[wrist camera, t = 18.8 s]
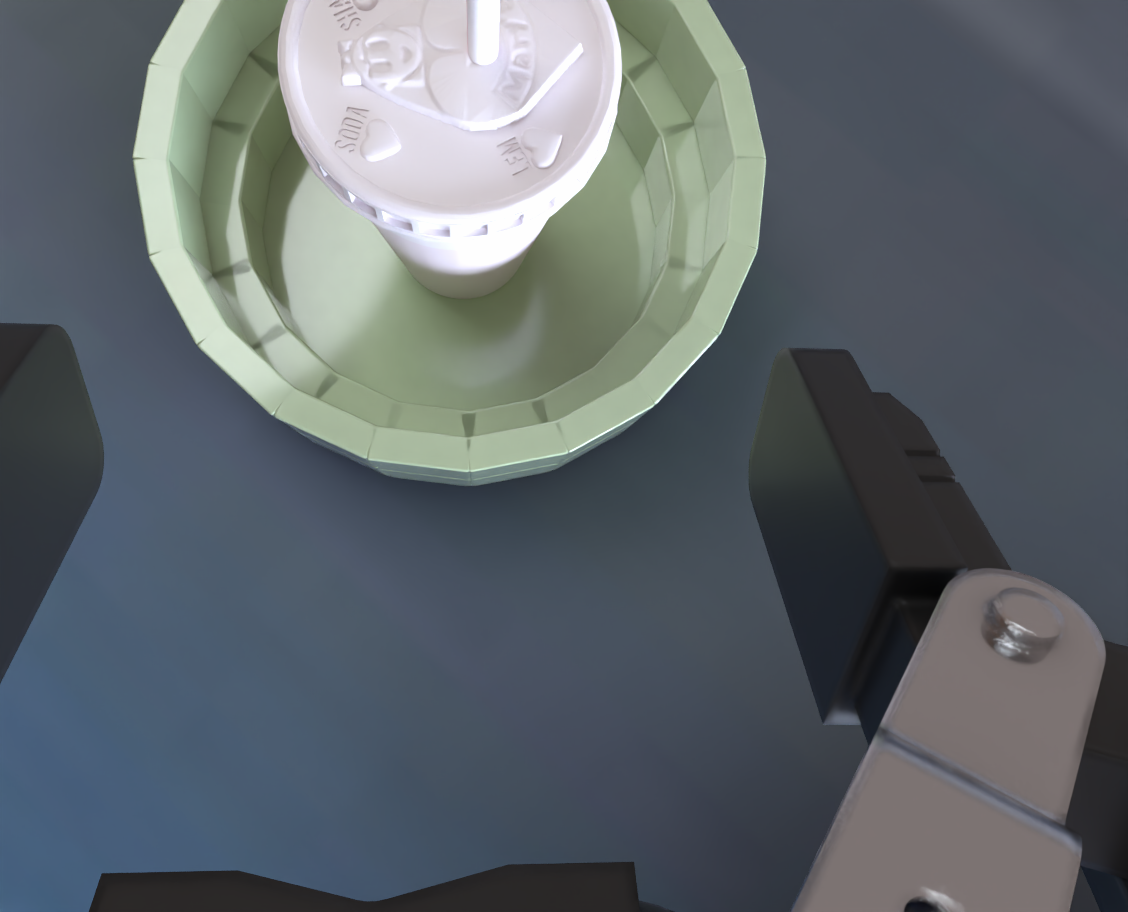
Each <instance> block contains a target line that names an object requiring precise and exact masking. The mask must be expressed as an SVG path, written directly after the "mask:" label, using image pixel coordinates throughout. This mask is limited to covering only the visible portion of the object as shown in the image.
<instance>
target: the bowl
mask: <svg viewBox="0 0 1128 912" xmlns="http://www.w3.org/2000/svg"><path fill="white" fill-rule="evenodd" d="M606 1H607V2H608V5H609V7H610V10H611V12H612V15H613V17H614V21H615V24H616V28H617V31H618V36H619V41H620V47H621V57H622V81H621V89H620V96H619V101H618V105H617V115H616V119H615V122H614V125H613V129H612V132H611V136H610V139H609V143H608V146H607V149H606V152H605V154H604V155H603V157H602V158H601V160H600V162H599V163H598V165H597V166H596V168H595V170H594V171H593V173H592V174H591V176H590V178H589V179H588V181H587V182H586V184H585V186H584V187H583V188H582V189H581V190H580V191H579V192H577V193H576V194H575V195H574V196H573V197H572V198H571V199H570V200H569V201H568V202H566V203H565V204H564V205H563V206H562V207H561V208H560V209H559V210H558V211H557V212H555V213H554V214H553V215H552V216H550V217H549V218H548V220H547V221H546V223H545V225H544V226H543V228H542V230H541V231H540V233H539V235H538V236H537V238H536V240H535V241H534V243H533V245H532V246H531V248H530V250H529V251H528V253H527V255H526V256H525V258H524V260H523V261H522V263H521V265H520V266H519V268H518V270H517V271H516V273H515V274H514V275H513V277H512V278H511V279H510V280H509V281H508V282H507V283H506V284H505V285H503V286H502V287H501V288H499V289H497V290H496V291H494V292H492V293H490V294H488V295H485V296H482V297H477V298H472V299H455V298H449V297H445V296H442V295H439V294H437V293H435V292H432V291H431V290H429V289H427V288H426V287H424V286H423V285H422V284H420V283H419V282H418V281H417V280H416V279H415V278H414V277H413V276H412V274H411V273H410V272H409V271H408V269H407V268H406V267H405V265H404V264H403V263H402V261H401V260H400V259H399V257H398V256H397V255H396V253H395V252H394V251H393V249H392V248H391V247H390V245H389V244H388V243H387V241H386V240H385V239H384V237H383V236H382V235H381V233H380V232H379V231H378V229H377V228H376V227H375V225H374V224H373V223H372V221H370V220H368V219H367V218H365V217H363V216H362V215H360V214H358V213H357V212H355V211H354V210H352V209H350V208H349V207H347V206H345V205H344V204H343V203H342V202H341V201H340V200H339V199H338V198H337V196H336V195H335V194H334V193H333V192H332V191H331V190H330V189H329V188H328V187H327V186H326V185H325V184H324V183H323V182H322V181H321V180H320V179H319V178H318V177H317V176H316V175H315V174H314V172H313V170H312V169H311V167H310V165H309V163H308V161H307V160H306V158H305V156H304V154H303V152H302V150H301V149H300V147H299V145H298V143H297V141H296V140H295V138H294V136H293V134H292V129H291V125H290V121H289V117H288V112H287V108H286V105H285V103H284V99H283V95H282V91H281V87H280V80H279V73H278V57H277V52H278V38H279V32H280V26H281V21H282V18H283V14H284V11H285V7H286V4H287V2H288V0H184V1H183V3H182V5H181V7H180V8H179V10H178V12H177V14H176V16H175V17H174V19H173V21H172V23H171V24H170V26H169V28H168V30H167V32H166V33H165V35H164V37H163V39H162V40H161V42H160V44H159V46H158V48H157V49H156V51H155V53H154V55H153V57H152V58H151V60H150V64H149V65H148V71H147V76H146V82H145V88H144V93H143V99H142V105H141V110H140V116H139V122H138V127H137V133H136V139H135V144H134V150H133V156H132V157H133V159H134V160H133V167H134V173H135V179H136V185H137V191H138V197H139V203H140V209H141V215H142V221H143V227H144V233H145V239H146V245H147V251H148V255H149V256H150V257H149V259H150V261H151V263H152V265H153V267H154V268H155V270H156V272H157V274H158V276H159V278H160V279H161V281H162V283H163V285H164V287H165V289H166V291H167V292H168V294H169V296H170V298H171V300H172V302H173V303H174V305H175V307H176V309H177V311H178V313H179V314H180V316H181V318H182V320H183V322H184V324H185V325H186V327H187V329H188V331H189V333H190V335H191V337H192V338H193V340H194V342H195V344H196V345H198V348H199V349H200V350H202V351H203V352H204V353H205V354H206V355H207V356H208V357H209V358H210V359H211V360H212V361H213V362H214V363H216V364H217V365H218V366H219V367H220V368H221V369H222V370H223V371H224V372H225V373H226V374H227V375H228V376H229V377H231V378H232V379H233V380H234V381H235V382H236V383H237V384H238V385H239V386H240V387H241V388H242V389H243V390H245V391H246V392H247V393H248V394H249V395H250V396H251V397H252V398H253V399H254V400H255V401H256V402H257V403H259V404H260V405H261V406H262V407H263V408H264V409H265V410H266V411H267V412H268V413H269V414H270V415H272V416H273V417H275V418H277V419H278V420H280V421H281V422H283V423H284V424H286V425H287V426H289V427H291V428H292V429H294V430H295V431H297V432H299V433H300V434H302V435H303V436H305V437H306V438H308V439H309V440H311V441H313V442H314V443H316V444H318V445H321V446H323V447H325V448H327V449H329V450H331V451H334V452H336V453H338V454H340V455H342V456H344V457H347V458H349V459H351V460H353V461H355V462H357V463H360V464H362V465H364V466H366V467H368V468H370V469H373V470H375V471H377V472H379V473H381V474H383V475H388V476H390V477H395V478H404V479H412V480H420V481H428V482H436V483H445V484H453V485H461V486H471V485H472V486H478V485H483V484H488V483H493V482H499V481H504V480H509V479H514V478H519V477H524V476H530V475H535V474H540V473H545V472H550V471H551V470H552V469H553V470H554V469H557V468H559V467H561V466H563V465H564V464H566V463H568V462H570V461H572V460H573V459H575V458H577V457H579V456H581V455H582V454H584V453H586V452H588V451H590V450H591V449H593V448H595V447H597V446H599V445H600V444H602V443H604V442H606V441H608V440H609V439H611V438H613V437H615V436H617V435H619V434H620V433H622V432H623V431H624V430H626V429H627V428H628V427H629V426H631V425H632V424H633V423H634V422H635V421H637V420H638V419H639V418H640V417H641V416H643V415H644V414H645V413H646V412H648V411H649V410H650V409H651V408H652V407H654V406H655V405H656V404H657V403H658V402H659V401H660V400H661V399H662V398H663V397H664V396H665V394H666V393H667V392H668V391H669V390H670V389H671V388H672V387H673V386H674V385H675V384H676V383H677V381H678V380H679V379H680V378H681V377H682V376H683V375H684V374H685V373H686V372H687V371H688V370H689V368H690V367H691V366H692V365H693V364H694V363H695V362H696V361H697V360H698V359H699V358H700V356H701V355H702V354H703V353H704V352H705V351H706V350H707V349H708V348H709V347H710V346H711V345H712V343H713V342H714V341H715V340H716V339H717V337H718V336H719V335H720V334H721V332H722V329H723V327H724V325H725V323H726V320H727V318H728V316H729V314H730V311H731V309H732V307H733V305H734V302H735V300H736V298H737V296H738V294H739V291H740V289H741V287H742V285H743V282H744V280H745V278H746V276H747V273H748V271H749V269H750V267H751V264H752V262H753V260H754V258H755V255H756V253H757V249H758V242H759V231H760V221H761V210H762V200H763V190H764V179H765V169H766V159H765V157H766V155H765V151H764V146H763V142H762V137H761V133H760V128H759V124H758V120H757V115H756V111H755V106H754V102H753V97H752V93H751V88H750V84H749V80H748V75H747V71H746V69H745V65H744V63H743V62H742V60H741V58H740V56H739V55H738V53H737V51H736V50H735V48H734V46H733V44H732V43H731V41H730V39H729V38H728V36H727V34H726V32H725V31H724V29H723V27H722V25H721V24H720V22H719V20H718V19H717V17H716V15H715V13H714V12H713V10H712V8H711V7H710V5H709V3H708V1H707V0H606Z"/></svg>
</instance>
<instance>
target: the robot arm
mask: <svg viewBox="0 0 1128 912" xmlns="http://www.w3.org/2000/svg"><path fill="white" fill-rule="evenodd" d="M103 466H104V450H103V442H102V437H101V434H100V430H99V427H98V424H97V421H96V418H95V414H94V411H93V408H92V405H91V402H90V398H89V395H88V392H87V389H86V386H85V382H84V379H83V376H82V373H81V370H80V366H79V363H78V360H77V357H76V354H75V350H74V347H73V344H72V342H71V339H70V338H69V336H68V334H67V333H66V331H65V330H64V329H63V328H62V327H60V326H58V325H51V324H17V323H0V683H1V681H2V679H3V677H4V675H5V673H6V671H7V669H8V667H9V665H10V663H11V661H12V659H13V657H14V655H15V653H16V651H17V649H18V647H19V645H20V643H21V642H22V640H23V638H24V636H25V634H26V632H27V630H28V628H29V626H30V624H31V622H32V620H33V618H34V616H35V614H36V612H37V610H38V608H39V606H40V604H41V602H42V600H43V598H44V596H45V594H46V592H47V590H48V588H49V586H50V584H51V582H52V580H53V578H54V576H55V575H56V573H57V571H58V569H59V567H60V565H61V563H62V561H63V559H64V557H65V555H66V553H67V551H68V549H69V547H70V545H71V543H72V541H73V539H74V537H75V535H76V533H77V531H78V529H79V527H80V525H81V523H82V521H83V519H84V517H85V515H86V513H87V511H88V509H89V507H90V506H91V504H92V502H93V500H94V498H95V496H96V494H97V491H98V489H99V486H100V483H101V479H102V475H103ZM749 490H750V497H751V501H752V505H753V508H754V511H755V514H756V517H757V520H758V523H759V526H760V529H761V533H762V536H763V539H764V542H765V545H766V548H767V551H768V554H769V557H770V561H771V564H772V567H773V570H774V573H775V576H776V579H777V582H778V585H779V589H780V592H781V595H782V598H783V601H784V604H785V607H786V610H787V613H788V617H789V620H790V623H791V626H792V629H793V632H794V635H795V638H796V641H797V645H798V648H799V651H800V654H801V657H802V660H803V663H804V666H805V669H806V672H807V676H808V679H809V682H810V685H811V688H812V691H813V694H814V697H815V700H816V704H817V707H818V710H819V713H820V716H821V719H822V722H823V725H861V726H862V729H863V731H864V734H865V737H866V740H867V742H868V745H869V746H868V748H867V750H866V752H865V754H864V756H863V758H862V760H861V762H860V765H859V767H858V769H857V771H856V773H855V775H854V777H853V779H852V781H851V783H850V786H849V788H848V790H847V792H846V794H845V796H844V798H843V800H842V802H841V804H840V807H839V809H838V811H837V813H836V815H835V817H834V819H833V821H832V823H831V826H830V828H829V830H828V832H827V834H826V836H825V838H824V840H823V842H822V844H821V847H820V849H819V851H818V853H817V855H816V857H815V859H814V861H813V863H812V865H811V868H810V870H809V872H808V874H807V876H806V878H805V880H804V882H803V884H802V886H801V889H800V891H799V893H798V895H797V897H796V899H795V901H794V903H793V905H792V907H791V909H790V912H1069V910H1070V906H1071V902H1072V897H1073V893H1074V888H1075V884H1076V880H1077V875H1078V871H1079V866H1081V868H1082V870H1083V873H1084V875H1085V877H1086V879H1087V882H1088V884H1089V886H1090V888H1091V891H1092V893H1093V895H1094V897H1095V900H1096V902H1097V904H1098V906H1099V909H1100V911H1101V912H1128V647H1127V646H1123V645H1119V644H1115V643H1112V642H1108V641H1105V640H1103V639H1102V636H1101V634H1100V632H1099V630H1098V628H1097V627H1096V625H1095V623H1094V622H1093V621H1092V619H1091V618H1090V617H1089V616H1088V615H1087V613H1086V612H1085V611H1084V610H1083V609H1082V608H1081V607H1080V606H1079V605H1078V604H1076V603H1075V602H1074V601H1073V600H1072V599H1070V598H1069V597H1068V596H1066V595H1065V594H1064V593H1062V592H1060V591H1059V590H1057V589H1056V588H1054V587H1052V586H1051V585H1049V584H1046V583H1044V582H1042V581H1040V580H1038V579H1036V578H1033V577H1031V576H1028V575H1025V574H1022V573H1018V572H1014V571H1012V570H1011V568H1010V567H1009V565H1008V563H1007V562H1006V560H1005V558H1004V557H1003V555H1002V553H1001V552H1000V550H999V548H998V547H997V545H996V543H995V542H994V540H993V538H992V537H991V535H990V533H989V532H988V530H987V528H986V527H985V525H984V523H983V521H982V520H981V518H980V516H979V515H978V513H977V511H976V510H975V508H974V506H973V505H972V503H971V501H970V500H969V498H968V496H967V495H966V493H965V491H964V490H963V488H962V486H961V485H960V483H956V482H955V475H954V473H953V471H952V470H951V468H950V466H949V465H948V463H947V461H946V460H945V458H944V457H940V449H939V448H938V446H937V444H936V443H935V441H934V439H933V438H932V436H931V434H930V433H929V431H928V429H927V428H926V426H925V424H924V423H923V421H922V420H921V419H920V418H919V417H918V416H916V415H915V414H914V413H913V412H912V411H910V410H909V409H908V408H907V407H905V406H904V405H903V404H902V403H901V402H899V401H898V400H897V399H896V398H895V397H893V396H892V395H891V394H890V393H878V392H872V391H871V389H870V388H869V386H868V384H867V382H866V380H865V378H864V377H863V375H862V373H861V371H860V369H859V368H858V366H857V364H856V362H855V360H854V358H853V357H852V355H851V354H850V353H849V352H848V351H847V350H844V349H810V348H782V349H781V350H780V351H779V352H778V354H777V355H776V357H775V360H774V363H773V366H772V370H771V374H770V378H769V382H768V385H767V389H766V393H765V397H764V401H763V405H762V409H761V413H760V417H759V421H758V425H757V429H756V433H755V437H754V440H753V444H752V448H751V453H750V460H749ZM89 912H673V911H671V910H668V909H666V908H663V907H661V906H658V905H654V904H650V903H646V902H643V901H639V900H638V892H637V883H636V875H635V867H634V862H612V863H565V864H519V865H505V866H502V867H498V868H495V869H491V870H488V871H484V872H481V873H477V874H474V875H470V876H467V877H463V878H460V879H456V880H453V881H449V882H445V883H442V884H438V885H435V886H431V887H428V888H424V889H421V890H417V891H414V892H410V893H407V894H403V895H400V896H396V897H393V898H389V899H385V900H380V901H370V902H366V901H359V900H354V899H350V898H346V897H342V896H338V895H334V894H330V893H326V892H322V891H318V890H314V889H310V888H306V887H302V886H298V885H294V884H290V883H286V882H282V881H278V880H274V879H270V878H266V877H262V876H258V875H254V874H249V873H245V872H241V871H193V872H147V873H102V874H101V877H100V880H99V883H98V886H97V889H96V892H95V895H94V898H93V901H92V904H91V907H90V910H89Z"/></svg>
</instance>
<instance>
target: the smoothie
mask: <svg viewBox="0 0 1128 912" xmlns="http://www.w3.org/2000/svg"><path fill="white" fill-rule="evenodd" d="M277 57H278V73H279V80H280V87H281V91H282V95H283V99H284V103H285V105H286V108H287V112H288V117H289V121H290V125H291V129H292V134H293V136H294V138H295V140H296V141H297V143H298V145H299V147H300V149H301V150H302V152H303V154H304V156H305V158H306V160H307V161H308V163H309V165H310V167H311V169H312V170H313V172H314V174H315V175H316V176H317V177H318V178H319V179H320V180H321V181H322V182H323V183H324V184H325V185H326V186H327V187H328V188H329V189H330V190H331V191H332V192H333V193H334V194H335V195H336V196H337V198H338V199H339V200H340V201H341V202H342V203H343V204H344V205H345V206H347V207H349V208H350V209H352V210H354V211H355V212H357V213H358V214H360V215H362V216H363V217H365V218H367V219H368V220H370V221H372V223H373V224H374V225H375V227H376V228H377V229H378V231H379V232H380V233H381V235H382V236H383V237H384V239H385V240H386V241H387V243H388V244H389V245H390V247H391V248H392V249H393V251H394V252H395V253H396V255H397V256H398V257H399V259H400V260H401V261H402V263H403V264H404V265H405V267H406V268H407V269H408V271H409V272H410V273H411V274H412V276H413V277H414V278H415V279H416V280H417V281H418V282H419V283H420V284H422V285H423V286H424V287H426V288H427V289H429V290H431V291H432V292H435V293H437V294H439V295H442V296H445V297H449V298H455V299H472V298H477V297H482V296H485V295H488V294H490V293H492V292H494V291H496V290H497V289H499V288H501V287H502V286H503V285H505V284H506V283H507V282H508V281H509V280H510V279H511V278H512V277H513V275H514V274H515V273H516V271H517V270H518V268H519V266H520V265H521V263H522V261H523V260H524V258H525V256H526V255H527V253H528V251H529V250H530V248H531V246H532V245H533V243H534V241H535V240H536V238H537V236H538V235H539V233H540V231H541V230H542V228H543V226H544V225H545V223H546V221H547V220H548V218H549V217H550V216H552V215H553V214H554V213H555V212H557V211H558V210H559V209H560V208H561V207H562V206H563V205H564V204H565V203H566V202H568V201H569V200H570V199H571V198H572V197H573V196H574V195H575V194H576V193H577V192H579V191H580V190H581V189H582V188H583V187H584V186H585V184H586V182H587V181H588V179H589V178H590V176H591V174H592V173H593V171H594V170H595V168H596V166H597V165H598V163H599V162H600V160H601V158H602V157H603V155H604V154H605V152H606V149H607V146H608V143H609V139H610V136H611V132H612V129H613V125H614V122H615V119H616V115H617V105H618V101H619V96H620V89H621V81H622V57H621V47H620V41H619V36H618V31H617V28H616V24H615V21H614V17H613V15H612V12H611V10H610V7H609V5H608V2H607V1H606V0H288V2H287V4H286V7H285V11H284V14H283V18H282V21H281V26H280V32H279V38H278V52H277Z"/></svg>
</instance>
